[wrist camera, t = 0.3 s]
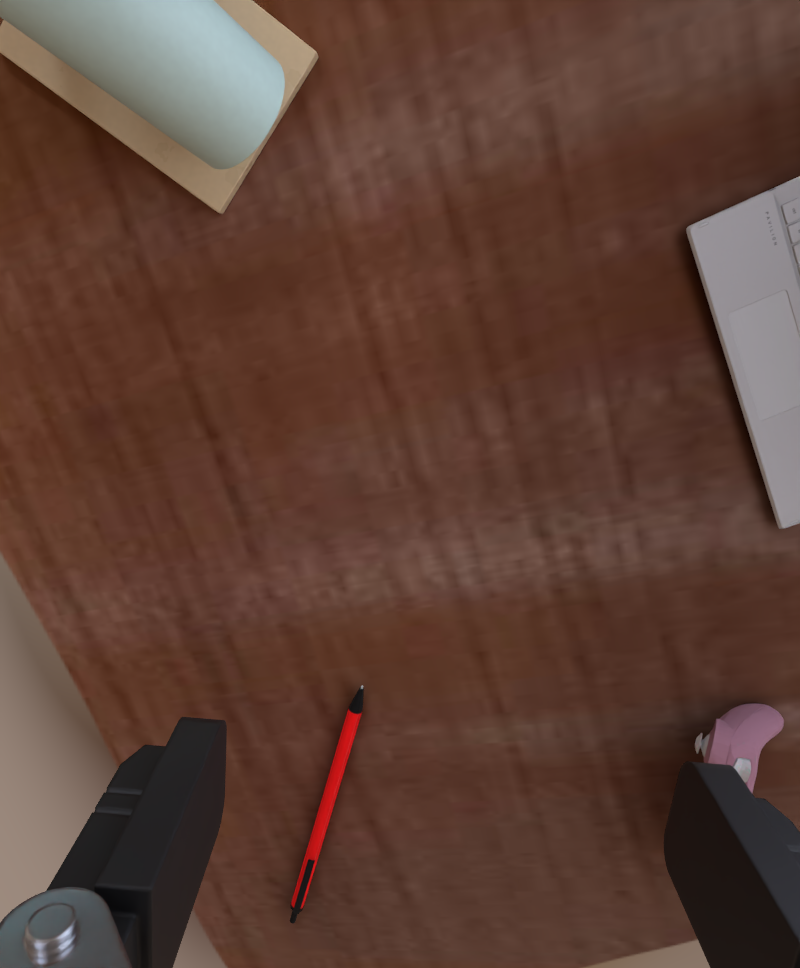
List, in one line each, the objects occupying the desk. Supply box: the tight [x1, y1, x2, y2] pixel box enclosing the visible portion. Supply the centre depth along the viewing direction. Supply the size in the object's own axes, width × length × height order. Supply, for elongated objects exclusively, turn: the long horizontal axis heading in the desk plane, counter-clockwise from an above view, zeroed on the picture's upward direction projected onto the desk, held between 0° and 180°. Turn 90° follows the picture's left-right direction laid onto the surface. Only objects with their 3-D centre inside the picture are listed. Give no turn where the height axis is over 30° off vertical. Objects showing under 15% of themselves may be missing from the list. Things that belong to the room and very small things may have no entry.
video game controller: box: [695, 703, 784, 793], centre depth 43 cm, size 10×5×7 cm, turn 174°
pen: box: [290, 686, 364, 923], centre depth 46 cm, size 1×19×1 cm, turn 164°
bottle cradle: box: [0, 0, 318, 214], centre depth 30 cm, size 13×9×9 cm
